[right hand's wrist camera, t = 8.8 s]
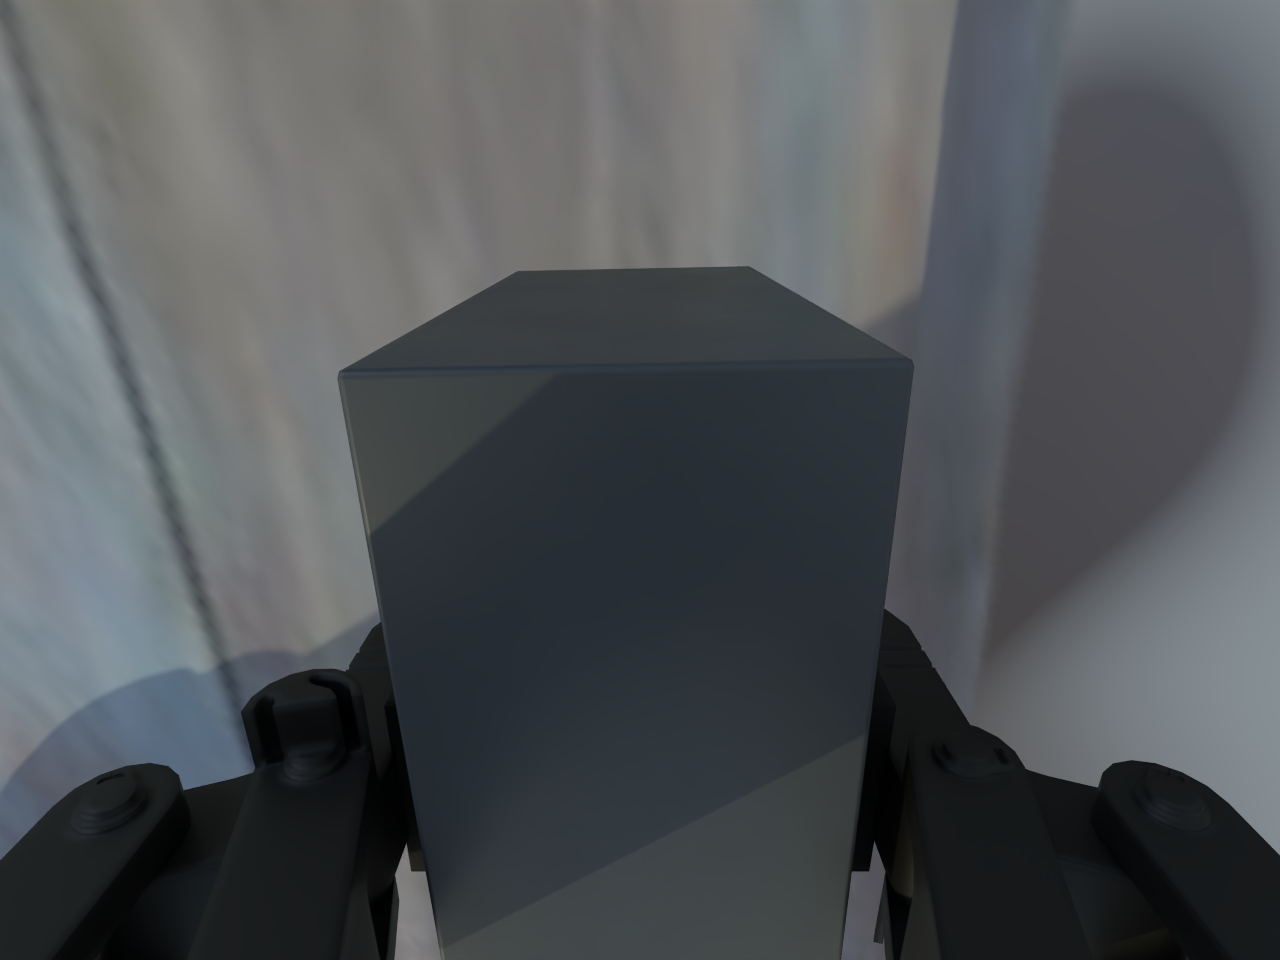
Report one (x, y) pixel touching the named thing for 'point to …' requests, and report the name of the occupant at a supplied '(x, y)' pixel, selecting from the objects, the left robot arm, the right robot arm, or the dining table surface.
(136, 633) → the dining table surface
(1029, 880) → the right robot arm
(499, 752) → the post
